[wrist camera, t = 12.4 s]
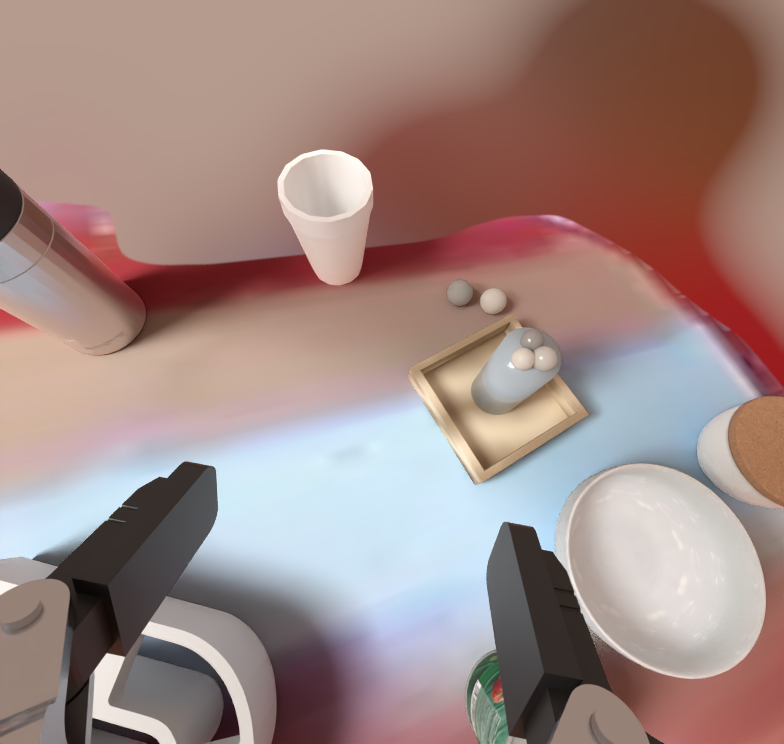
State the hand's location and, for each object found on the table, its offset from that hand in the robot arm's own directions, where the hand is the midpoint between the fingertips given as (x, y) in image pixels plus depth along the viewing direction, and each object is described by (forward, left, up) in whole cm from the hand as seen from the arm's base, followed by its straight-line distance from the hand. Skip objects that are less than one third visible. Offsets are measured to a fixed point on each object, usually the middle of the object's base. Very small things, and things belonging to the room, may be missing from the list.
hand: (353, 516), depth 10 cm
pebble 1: (-17, +22, -31) cm, 41 cm away
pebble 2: (-14, +25, -31) cm, 42 cm away
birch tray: (-4, +18, -31) cm, 36 cm away
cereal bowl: (+16, +20, -31) cm, 40 cm away
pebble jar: (-4, +19, -30) cm, 36 cm away
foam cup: (-29, +11, -31) cm, 44 cm away
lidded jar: (+15, +37, -31) cm, 51 cm away
